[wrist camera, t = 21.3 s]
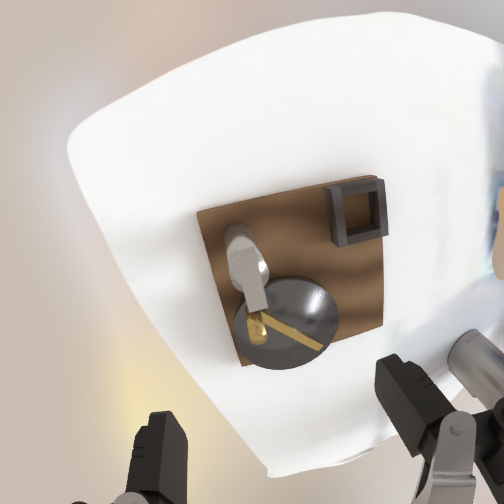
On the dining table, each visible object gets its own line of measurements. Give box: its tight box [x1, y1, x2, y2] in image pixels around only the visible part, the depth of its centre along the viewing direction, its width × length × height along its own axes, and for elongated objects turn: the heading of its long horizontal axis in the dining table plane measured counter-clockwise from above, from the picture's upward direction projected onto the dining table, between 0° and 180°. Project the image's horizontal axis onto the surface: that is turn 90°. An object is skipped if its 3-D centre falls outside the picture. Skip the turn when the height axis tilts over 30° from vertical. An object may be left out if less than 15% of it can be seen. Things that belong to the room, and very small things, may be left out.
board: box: [197, 175, 388, 367], centre depth 33 cm, size 20×20×3 cm
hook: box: [224, 222, 269, 313], centre depth 25 cm, size 5×3×11 cm, turn 12°
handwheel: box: [233, 275, 339, 370], centre depth 30 cm, size 12×12×6 cm
